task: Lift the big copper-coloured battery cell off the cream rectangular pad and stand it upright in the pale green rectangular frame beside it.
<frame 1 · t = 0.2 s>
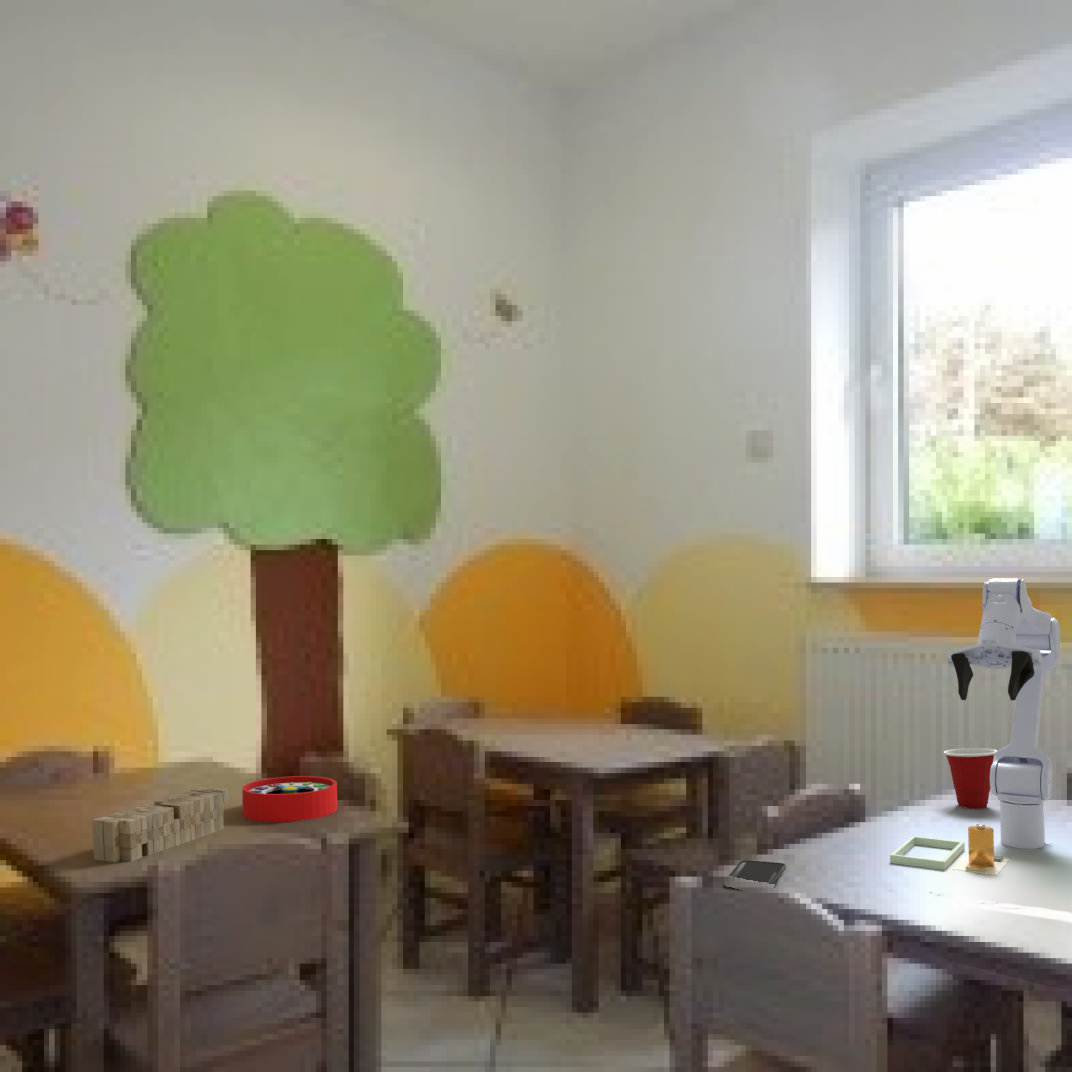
hand: (986, 696, 182), 31 cm above the table, tool tilted 45°, fingers open, 7 cm apart
plastic cup: (971, 806, 240), on the table
block tower: (164, 845, 218), on the table
phone: (756, 880, 190), on the table
cream rectangular pad: (981, 871, 191), on the table
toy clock: (290, 813, 244), on the table
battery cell: (981, 864, 191), point 1 cm above the table, touching cream rectangular pad
pale green rectangular frame: (928, 862, 197), on the table
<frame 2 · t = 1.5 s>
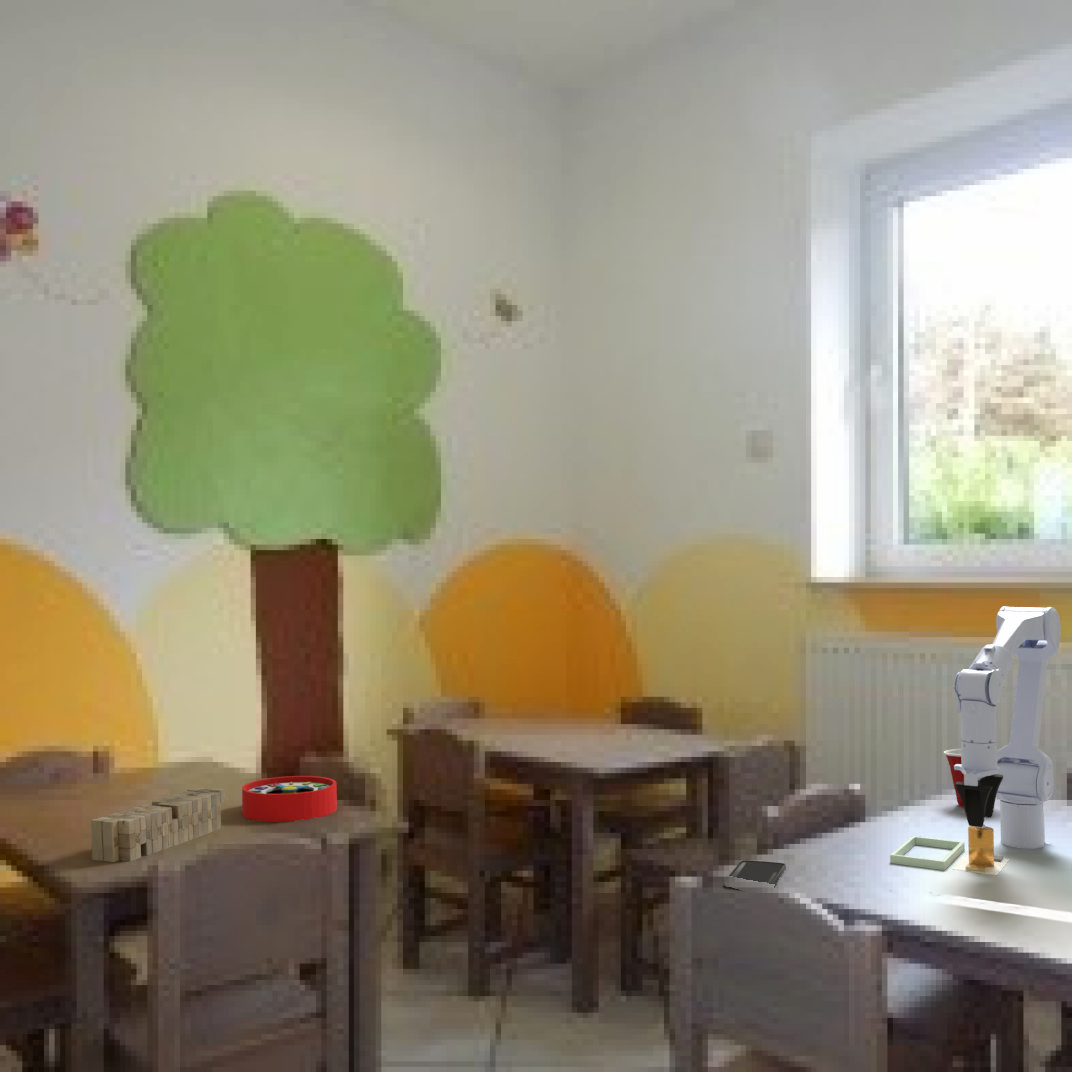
hand: (980, 821, 191), 8 cm above the table, tool pointing down, fingers open, 7 cm apart
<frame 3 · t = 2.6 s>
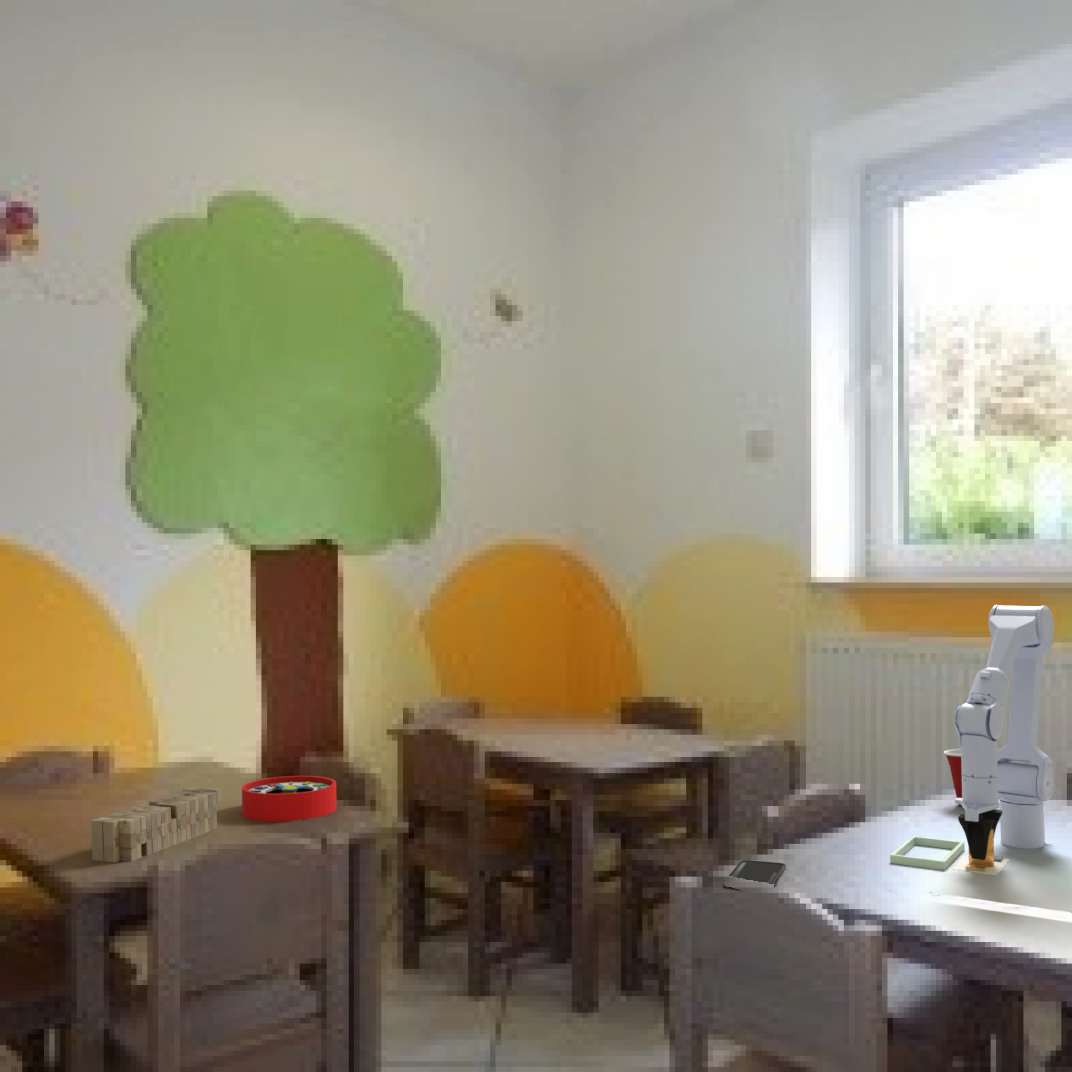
hand: (981, 855, 191), 3 cm above the table, tool pointing down, fingers closed on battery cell, 4 cm apart
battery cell: (981, 864, 191), point 1 cm above the table, touching cream rectangular pad, gripper
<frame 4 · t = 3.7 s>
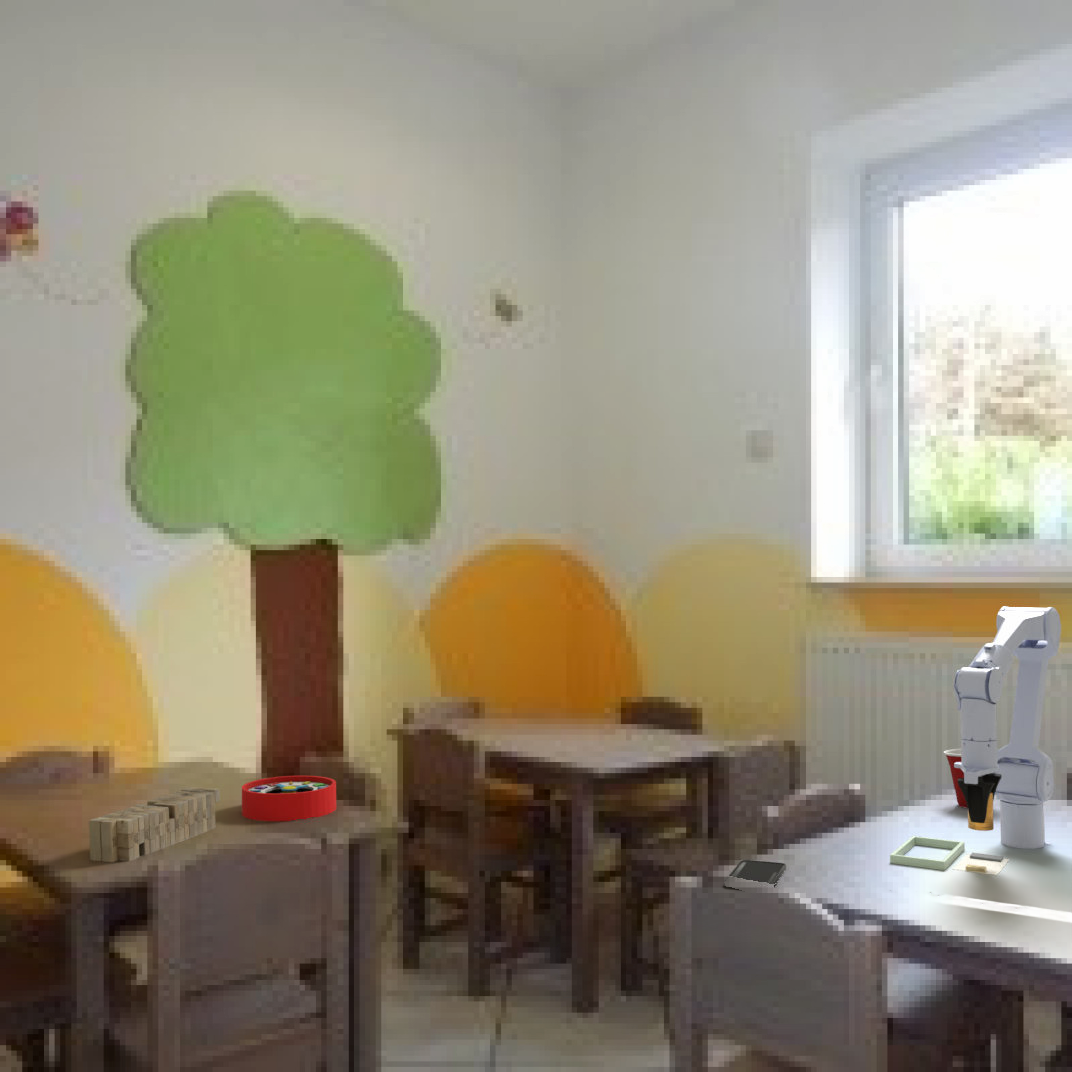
hand: (980, 819, 191), 9 cm above the table, tool pointing down, fingers closed on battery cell, 4 cm apart
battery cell: (980, 827, 191), point 7 cm above the table, touching gripper
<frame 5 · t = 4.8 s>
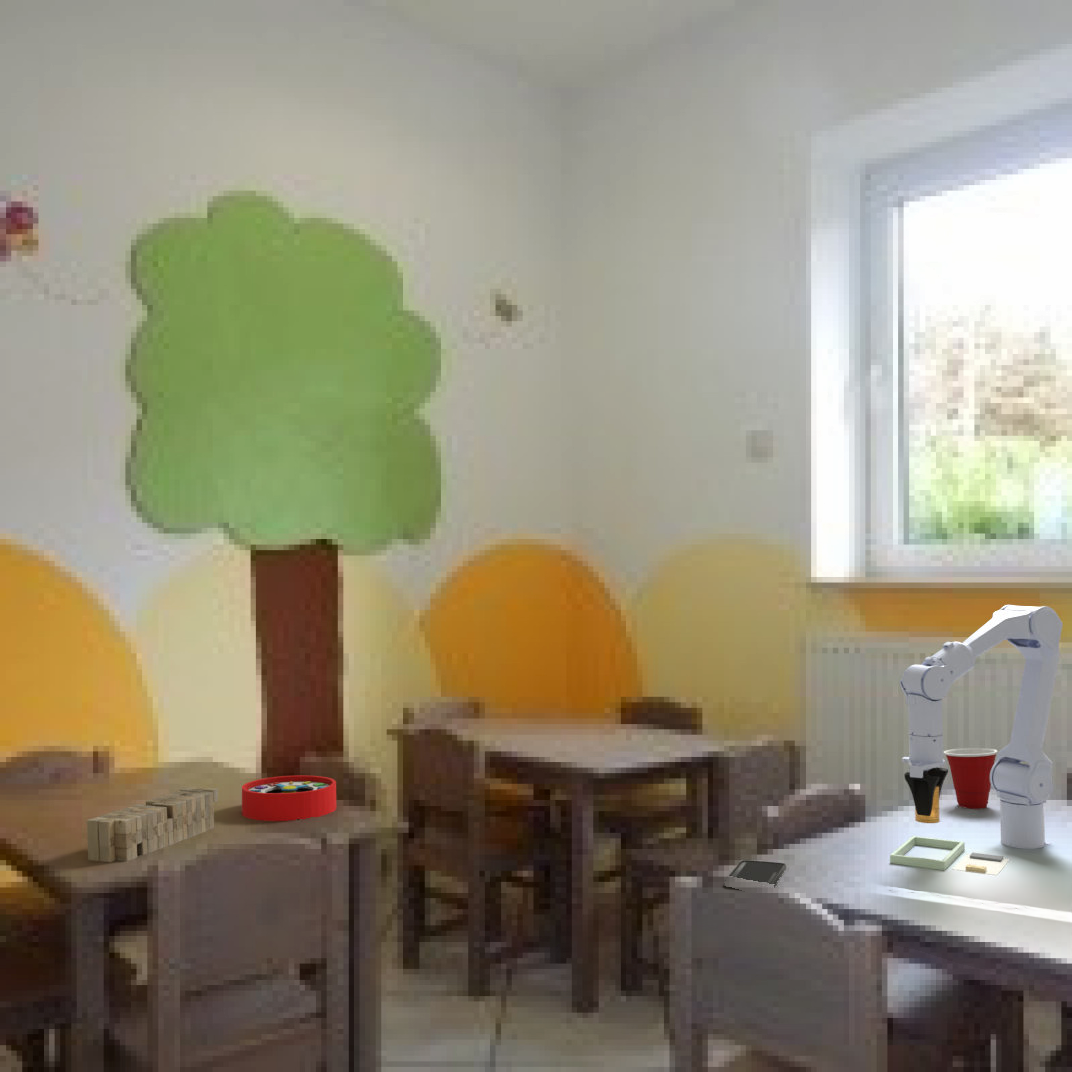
hand: (927, 812, 197), 9 cm above the table, tool pointing down, fingers closed on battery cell, 4 cm apart
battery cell: (927, 820, 197), point 7 cm above the table, touching gripper
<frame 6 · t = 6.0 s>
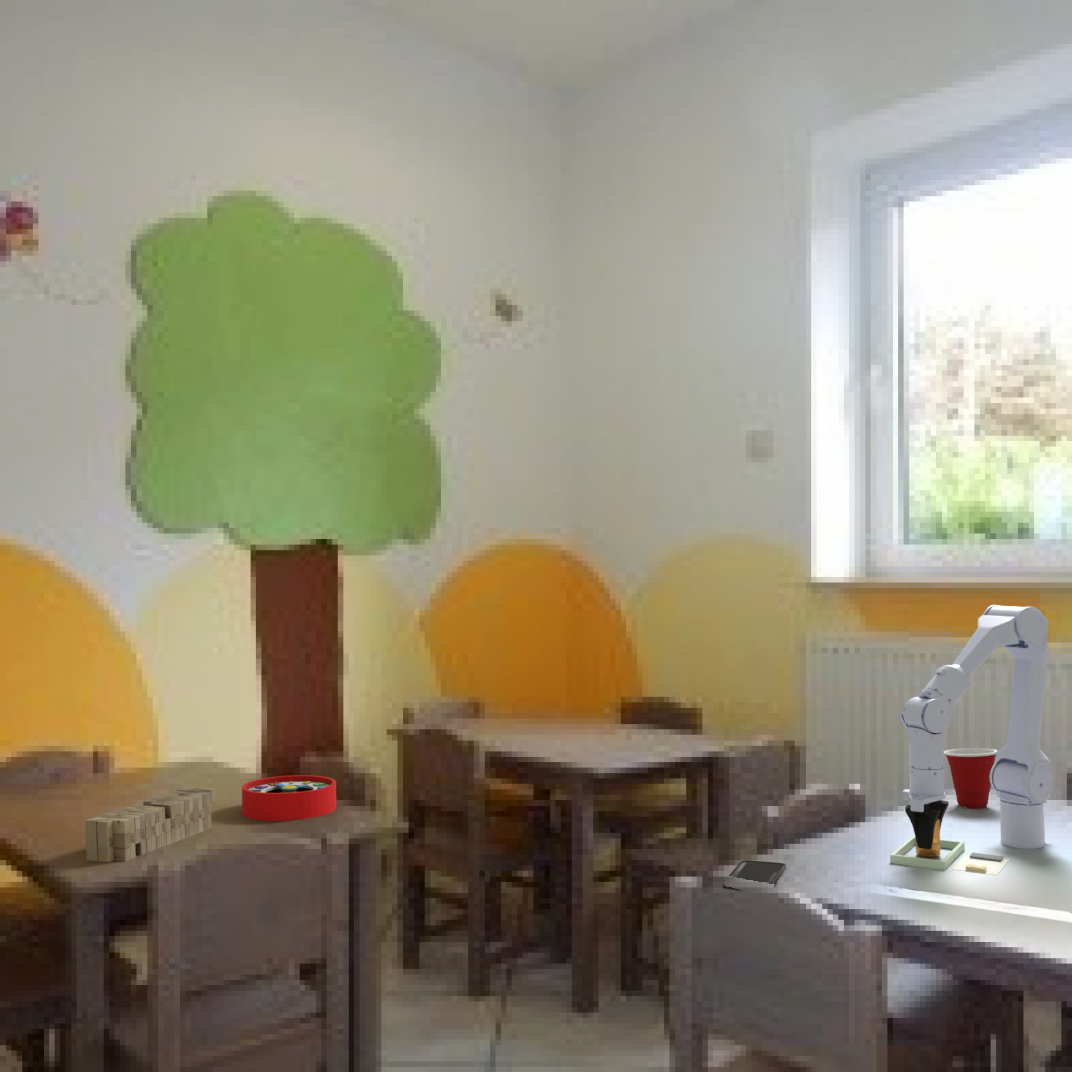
hand: (927, 845, 197), 3 cm above the table, tool pointing down, fingers closed on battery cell, 4 cm apart
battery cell: (928, 853, 197), point 2 cm above the table, touching gripper
when the fingers open (3 cm above the table, at t = 6.1 s): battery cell drops 1 cm, resting on pale green rectangular frame.
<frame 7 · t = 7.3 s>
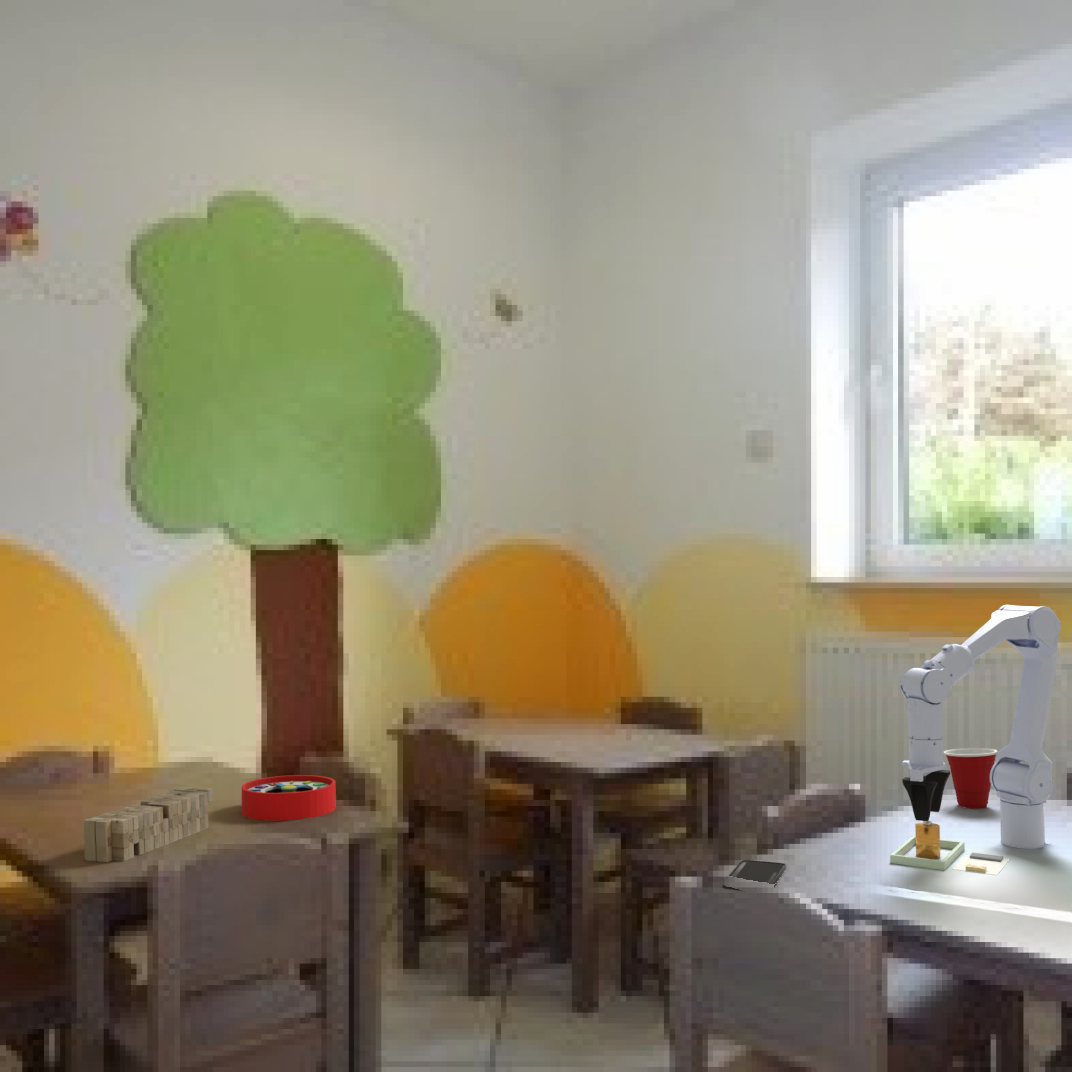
hand: (927, 815, 197), 8 cm above the table, tool pointing down, fingers open, 7 cm apart
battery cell: (928, 859, 197), point 1 cm above the table, touching pale green rectangular frame
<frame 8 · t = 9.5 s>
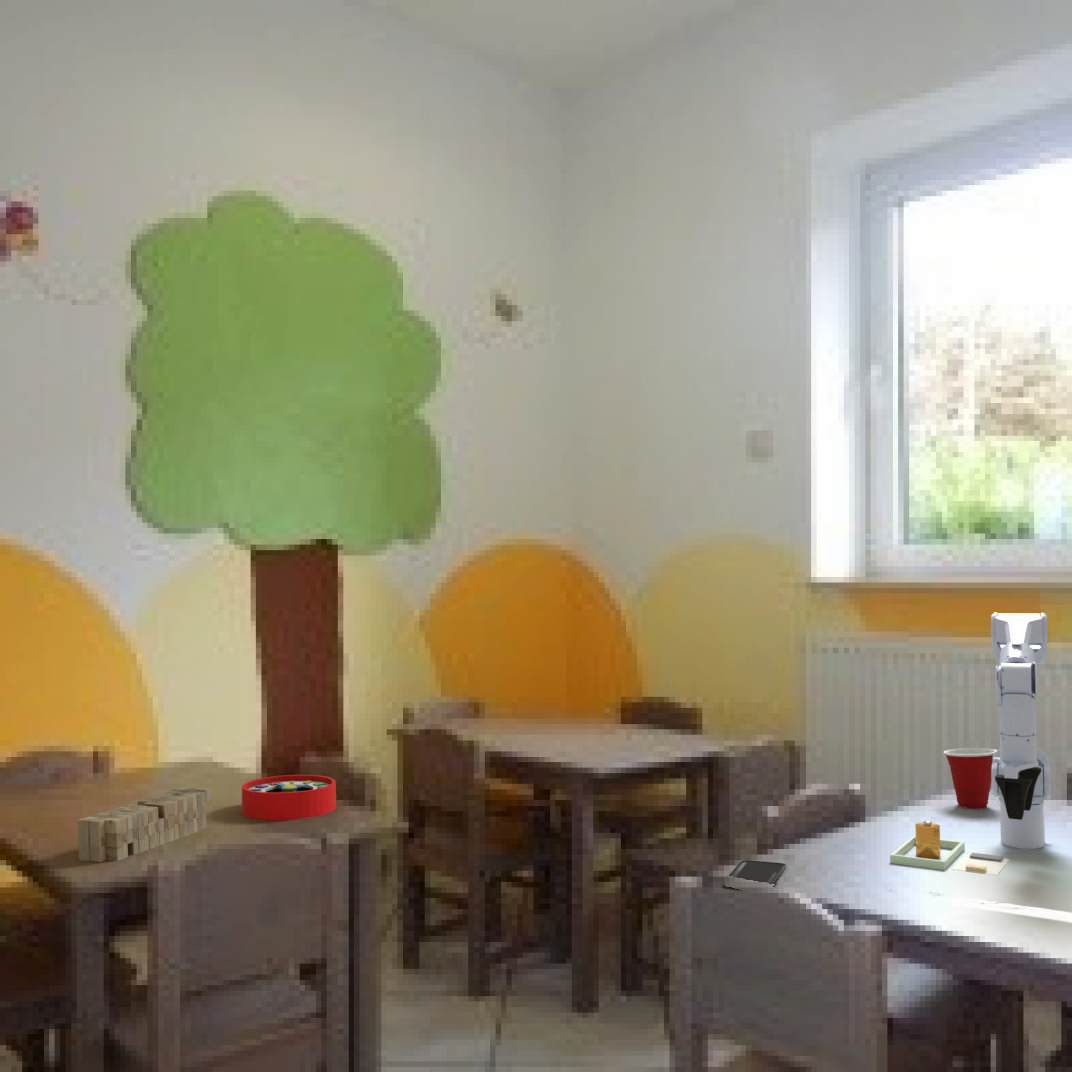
hand: (1019, 814, 192), 9 cm above the table, tool pointing down, fingers open, 7 cm apart
at the end: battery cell inside the target area on the pale green rectangular frame (0.0 cm from its centre), point 0.5 cm above the pale green rectangular frame's base; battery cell tilted 0°; the gripper is holding nothing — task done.
